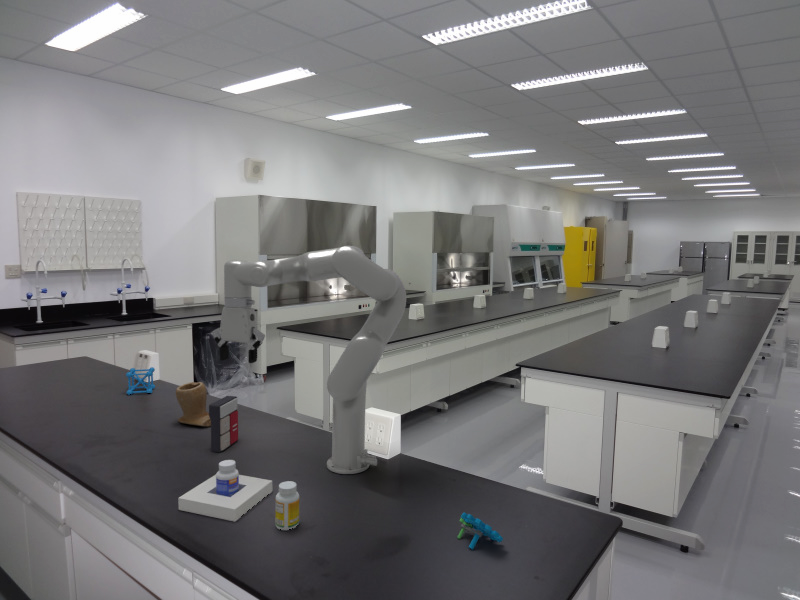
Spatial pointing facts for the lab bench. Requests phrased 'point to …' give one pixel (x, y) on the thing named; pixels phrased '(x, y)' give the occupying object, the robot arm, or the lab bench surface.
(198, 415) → the tan hollow piece
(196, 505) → the white square frame
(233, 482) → the pill bottle
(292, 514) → the supplement bottle
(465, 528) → the blue plastic legged piece
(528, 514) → the lab bench surface
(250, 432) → the lab bench surface
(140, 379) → the molecular structure
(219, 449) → the calculator
